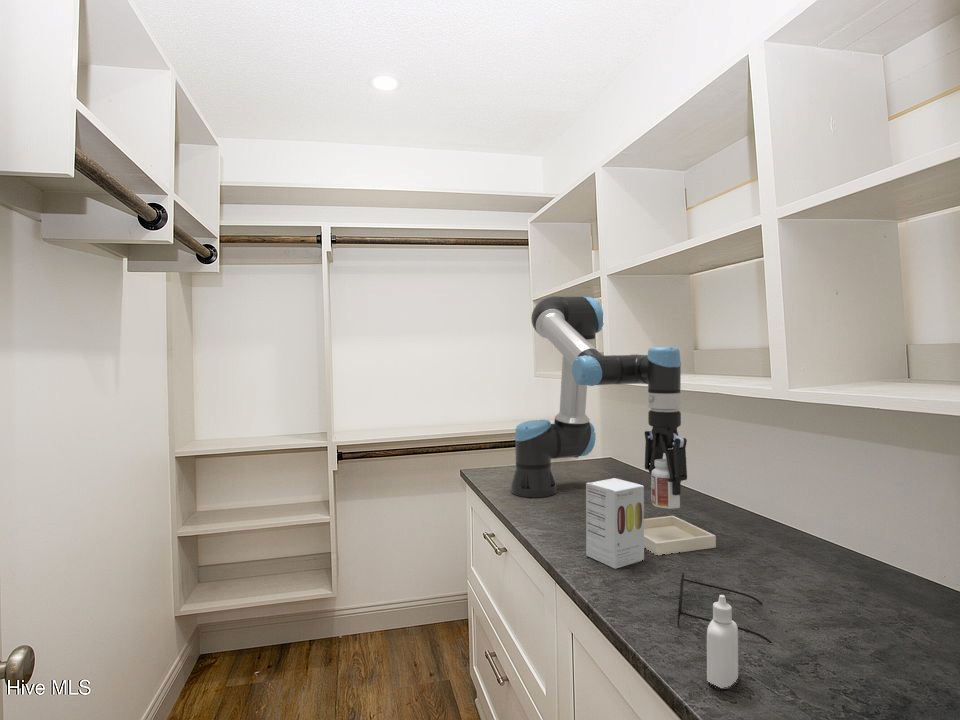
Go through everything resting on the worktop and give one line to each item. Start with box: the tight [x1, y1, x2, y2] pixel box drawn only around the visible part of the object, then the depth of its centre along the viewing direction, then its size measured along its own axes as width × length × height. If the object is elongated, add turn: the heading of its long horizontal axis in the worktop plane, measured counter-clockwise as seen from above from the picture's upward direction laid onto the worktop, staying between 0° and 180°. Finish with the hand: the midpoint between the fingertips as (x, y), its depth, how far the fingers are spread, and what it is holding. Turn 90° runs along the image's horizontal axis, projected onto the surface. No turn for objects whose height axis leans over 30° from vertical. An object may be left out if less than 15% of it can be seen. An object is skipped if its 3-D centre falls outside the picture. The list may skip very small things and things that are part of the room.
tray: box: [644, 515, 717, 556], centre depth 130 cm, size 16×16×3 cm
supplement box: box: [585, 477, 645, 570], centre depth 119 cm, size 10×9×17 cm
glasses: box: [677, 572, 773, 643], centre depth 93 cm, size 14×15×5 cm
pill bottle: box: [650, 458, 670, 509], centre depth 130 cm, size 6×6×11 cm
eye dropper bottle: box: [706, 594, 739, 688], centre depth 75 cm, size 4×6×12 cm
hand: (665, 503), depth 130 cm, fingers closed on pill bottle, 6 cm apart
